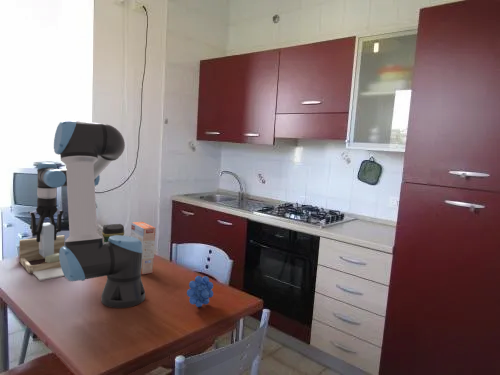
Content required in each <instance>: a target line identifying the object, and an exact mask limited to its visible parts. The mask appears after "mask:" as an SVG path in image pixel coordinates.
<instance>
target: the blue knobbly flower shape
mask: <svg viewBox="0 0 500 375" xmlns="http://www.w3.org/2000/svg"><path fill="white" fill-rule="evenodd" d="M188 286H189V288H188V289H187V291H186V295H187V297H188V298H189V300H188V301H189V303H190V304H191V305H195V306H196V307H197V308H201V307H202V306H203V305H208V304H209V303H210V298H212V297H213V296H214V291H213V289H214V283H213V282H212V281H210V278H209V277H208V276H206V275H205V276H201V275H197V276H195V277H194V280H191V281H189V283H188Z"/></svg>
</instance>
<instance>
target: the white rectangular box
mask: <svg viewBox="0 0 500 375" xmlns="http://www.w3.org/2000/svg"><path fill="white" fill-rule="evenodd" d="M41 234H42V249H41V250H40V249H39V254H40V255H41V256H43V257H44V258H45V257H46V256H49V255H53V254H54V225H52V224H51V223H50V222H43V225H42V230H41Z"/></svg>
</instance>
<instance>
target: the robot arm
mask: <svg viewBox="0 0 500 375" xmlns="http://www.w3.org/2000/svg"><path fill="white" fill-rule="evenodd" d="M125 147H126V144H125V138H124V136H123V135H122V133H121V132H120V131H119V130H118V129H117V128H116V127H114V125H113V126H112V125H111V124H108V123H98V122H89V121H82V120H81V121H80V120H75V119H74V120H66V119H65V120H61V121H60V122H59V123H58V124H57V127H56V130H55V134H54V138H53V150H54V151H53V152H54V153H55V154H56V155H60V156H59V157H60V161H61V162H62V163H63V164H64V165H65V168H63V169H61V168H59V169H58V165H57V163H55V162H39V163H38V164H37V168H36V171H37V186H36V187H37V191H36V192H37V193H36V194H37V195H36V196H37V199H36V200H37V201H36V202H37V203H36V208H35V210H33V211H29V212H28V213H29V215H30V224H31V225H30V226H31V230H30V231H31V234H33V235H36V237H35V238H36V241H37V242H39V249H40V250H41V249H42V234H41V230H42V225H43V223H45V220H46V219H47V218H48V220H49V223H51V224H52V225H54V240H56V236H57V234H58V233H60V232H62V223H63V222H62V220H63V219H62V218H63V214H64V211H63V210H62V209H58V207H57V194H58V192H57V188H61V187H66V188H67V193H66V194H67V210H68V225H69V226H68V229H69V236H68V237H67V238H66V239H65V245H64V246H63V247H61V248H60V251H59V253H60V254H59V259H60V265H61V268H62V271H63V274H64V276H63V277H65V279H66V280H68V281H70V282H77V281H86V280H90V279H94V278H95V279H96V278H101V277H107V278H106V282H105V285H104V287H103V290H102V292H101V295H100V296H101V297H100V298H101V300H100V301H101V303H102V304H103V305H104V306H107V307H109V308H115V309H123V308H131V307H134V306H137V305H140V304H142V302H144V301H145V298H146V290H145V286H144V284H143V281H142V275H141V265H142V253H143V251H142V242H141V241H140V240H139V239H137V238H134V237H131V235H130V236H128V235H123V236H121V235H115V236H110V237H109V239H108V242H104V237H103V235H101V234H99V233H98V220H97V202H96V186H98V185H99V182H100V179H101V178H100V177H101V176H100V175H101V174H102V172H104V170H106V168H107V167H108V166H109V164H110V163H111V162H113V161H117V160H118V159H119V158H120V157H121V156H122V155H123V153H124V151H125V149H126V148H125ZM37 214H38V215H39V219H38V223H36V222H37V221H36V220H37V218H36V216H37ZM55 214H57V216H56V222H55V216H54V215H55Z"/></svg>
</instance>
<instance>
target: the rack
mask: <svg viewBox="0 0 500 375" xmlns="http://www.w3.org/2000/svg"><path fill="white" fill-rule="evenodd" d="M65 236H66V235H56V240H54V254H57V253H59V251H60V248H61V247H63V246H65V240H66V239H65ZM59 254H60V253H59ZM18 255H19V256H18V257H19V258H18V259H19V263H20V264H21V265H22V266H23V268H24V269H25V270H26V271H27V272H28V273H29V274H33V272H34V271H40V270H46V269H52V268H58V267H61V265H60V261H57V262H51V263H44V264H42V263H40V264H39V263H38V264H31V263H30V262H31V261H32V262H33V261H39V260H45V258H44V257H43V256H41V255H40V254H39V242H37V241H36V237H35V238H26V239H19V254H18Z"/></svg>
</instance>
